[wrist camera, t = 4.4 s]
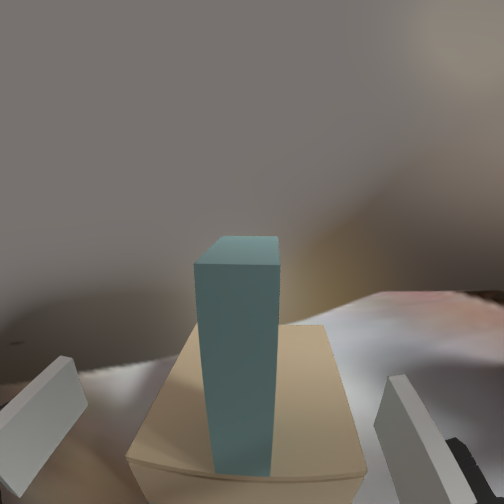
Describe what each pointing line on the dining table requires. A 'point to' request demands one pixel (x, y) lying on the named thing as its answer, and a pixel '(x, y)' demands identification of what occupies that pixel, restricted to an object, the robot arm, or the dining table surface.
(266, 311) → the carton lid
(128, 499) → the dining table surface
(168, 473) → the carton
